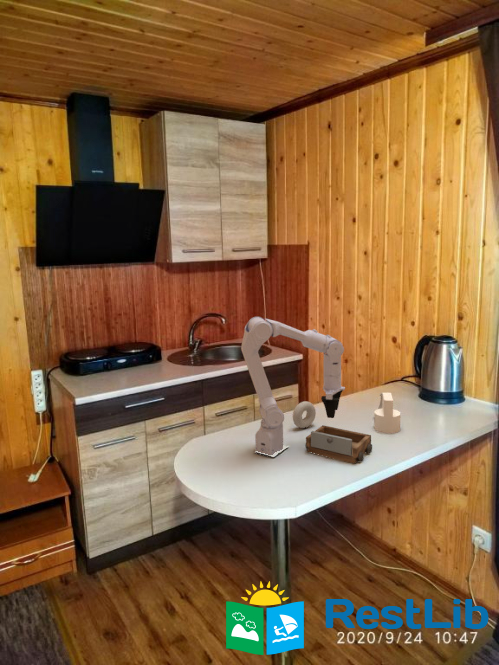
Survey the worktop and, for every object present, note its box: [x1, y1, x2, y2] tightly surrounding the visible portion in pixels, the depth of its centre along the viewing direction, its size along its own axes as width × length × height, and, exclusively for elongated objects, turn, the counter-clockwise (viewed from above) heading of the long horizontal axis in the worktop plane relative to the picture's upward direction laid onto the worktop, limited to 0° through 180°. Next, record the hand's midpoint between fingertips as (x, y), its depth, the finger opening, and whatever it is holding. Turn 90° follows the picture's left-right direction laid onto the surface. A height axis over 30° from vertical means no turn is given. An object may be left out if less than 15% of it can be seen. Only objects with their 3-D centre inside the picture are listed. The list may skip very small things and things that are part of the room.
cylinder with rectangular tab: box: [373, 392, 401, 434], centre depth 171 cm, size 9×9×12 cm
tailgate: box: [310, 430, 352, 456], centre depth 150 cm, size 2×14×5 cm, turn 55°
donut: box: [292, 400, 317, 429], centre depth 175 cm, size 10×4×10 cm, turn 124°
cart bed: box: [305, 425, 373, 465], centre depth 155 cm, size 12×19×5 cm, turn 55°
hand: (332, 413), depth 160 cm, fingers open, 7 cm apart
